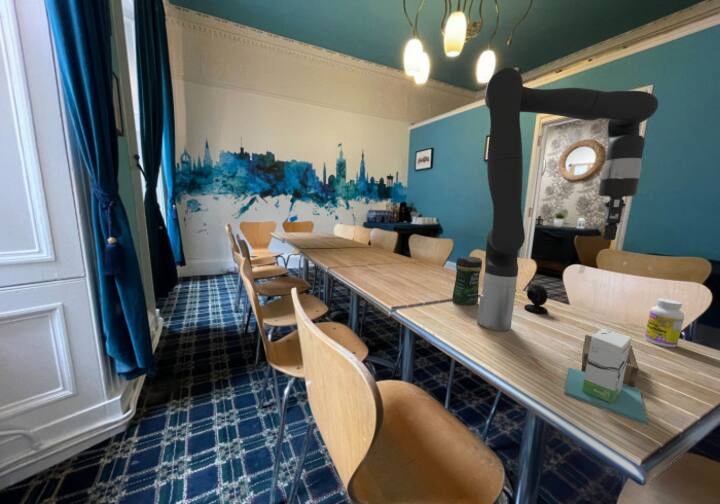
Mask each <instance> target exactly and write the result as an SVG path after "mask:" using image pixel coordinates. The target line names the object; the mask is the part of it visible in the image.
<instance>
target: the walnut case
mask: <svg viewBox="0 0 720 504" xmlns="http://www.w3.org/2000/svg"><path fill="white" fill-rule="evenodd" d="M592 336H593V335H589V334H585V336H584V340H583V341H584V342H583V347H582V358H581V371H583V372H585V371H586V366H587V360H588V354H589V348H590V343H591V338H592ZM638 372H639V365H638V362H637V359H636V355H635V352H634V349H633V346H632V345H630V349H629V354H628V359H627V364H626V369H625V374H624V379H623V384H624V385H627V386H630V387H634V388H636V387H635V386H636V382H637V377H638Z"/></svg>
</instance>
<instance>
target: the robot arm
mask: <svg viewBox="0 0 720 504" xmlns="http://www.w3.org/2000/svg"><path fill="white" fill-rule="evenodd" d="M484 102H485V105H486V107H487V108H488V109H489V117H490V119H489V120H490V130H489V138H488V143H487V144H488V145H487V157H486V158H487V159H486V161H487V162H486V163H487V164H486V167H487V168H486V169H487V173H486V174H487V185H488V188H489V193H490V197H491V201H492V207H493V208H492V209H493V210H492V211H493V213H492V215H493V217H492V226H491V227H490V229H489V230H488V233H487V237H486V243H485V244H486V246H485V247H486V248H485V257H484V262H485V263H484V265H485V267H484V275H483V276H484V278H483V285H482V294H480V296H479V301H478V302H479V304H478V312H477V322H476V323H477V324H478V325H480V326H482V327H484V328H486V329H489V330H493V331H499V332H505V331H510V330H511V328H512V321H513V313H514V305H515V299H516V298H515V297H516V292H517V291H516V290H517V289H516V288H517V283H518V276H519V264H518V255H519V254H518V253H519V250H521V249H522V247H523V246H524V243H525V239H526V234H525V227H524V221H523V220H524V219H523V210H522V194H523V175H524V174H523V173H524V172H523V171H524V168H523V167H524V166H523V165H524V164H523V163H524V162H523V159H524V157H523V143H522V132H521V131H522V130H521V113H531V114H532V113H533V114H534V113H535V114H543V115H544V114H545V115H549V116H550V115H552V116H558V117H564V118H570V119H576V120H581V121H597V120H600V119H603V120H605V119H606V120H607V125H606V126H607V128H606V129H607V133H606V134H607V142H608V143H607V145H608V146H607V150H606V155H605V161H604V164H603V167H602V172H601V175H600V176H601V177H600V183H599V189H598V196H599V197H606V198H607V197H608V198H609V200H608V202H606V203H605V204H604V213H603V218H604V223H603V224H604V229H603V234H602V236H603V239H604V240H606V241H615V240H616V237H617V232H618V227H619V226H620V224H621V222H622V219H623V216H624V211H625V208H626V203H625V199H623V198H624V197H625V198H626V197H635V196H637V193H638V189H639V188H638V187H639V181H640V176H641V171H642V159H643V155H644V148H645V141H646V140H645V137H644V136H642V135H640V125H641V123H643V122H645V121H647V120H648V119H650V118H651V117H652V116H653V115H654V114H655V113H656V111H657V109H658V108H659V100H658V98H657V97H656V96H655V95H654V94H653V93H651V92H647V91H644V90H614V91H603V90H598V89H597V90H596V89H591V88H584V87H583V88H582V87H559V88H549V89H548V88H545V89H542V88H532V87H527V86H524V80H523V77H522V74H521V73H520V72H519V71H518V70H517V69H516V68H513V67H509V66H507V67H502V68H500V69H498V70H497V71H496V72H495V73H493V74H492V76H491V77H490V78H489V80H488V82H487V84H486V88H485V93H484Z"/></svg>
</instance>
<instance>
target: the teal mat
mask: <svg viewBox="0 0 720 504" xmlns="http://www.w3.org/2000/svg"><path fill="white" fill-rule="evenodd" d="M584 377H585V372H584V371H582V370H580V369H579V370H578V369H577V368H576V369H575V368H573V367H569V366H568V368H567V374H566V380H565V387H564V394H563V395H565V396H567V397H570V398H573V399H577V400H579V401H582V402H584V403H588V404H589V405H593V406H594V407H598V408H601V409H603V410H606V411H608V412H611V413H614V414H617V415H620V416H623V417H625V418H627V419H631V420H633V421H636V422H639V423H641V424H644V425H648V423H649V419H648V417H647V414H646V413H647V412H646V410H645V406H644V402H643V399H642V398H643V397H642V396H641V391H640V389H639V388H637V387H632V386H628V385H625V384H622V389H621V391H620V392H619V394H618V395H617V397H616V398H615V400H614V401H613V403H609V402H607V401H605V400H602V399H600V398H598V397H595V396H593V395H591V394H588V393H586V392H584V391H583V390H582V389H583V383H584Z"/></svg>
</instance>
